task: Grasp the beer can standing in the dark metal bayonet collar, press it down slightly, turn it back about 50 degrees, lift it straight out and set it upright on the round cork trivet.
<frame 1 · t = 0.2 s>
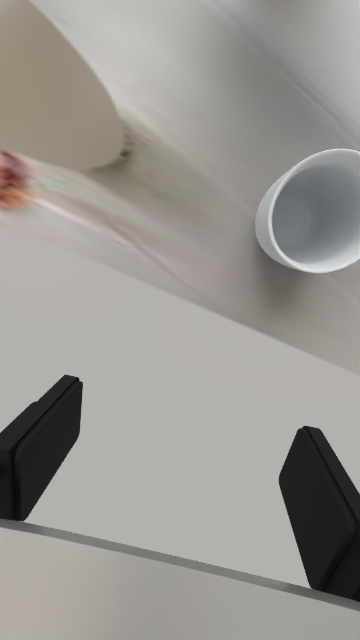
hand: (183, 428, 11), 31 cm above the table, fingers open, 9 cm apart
mug: (291, 217, 36), on the table
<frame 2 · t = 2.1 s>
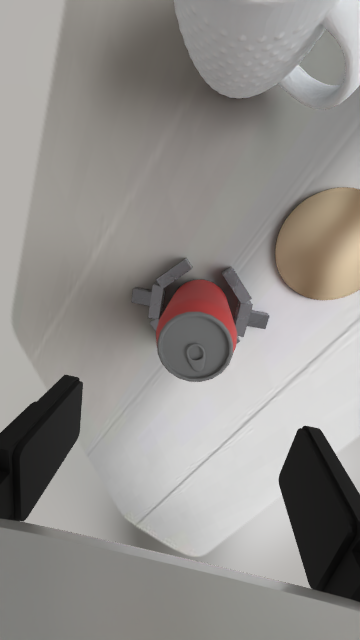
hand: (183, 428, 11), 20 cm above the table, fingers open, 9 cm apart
mug: (251, 61, 23), on the table
collar: (199, 306, 30), on the table
trivet: (329, 247, 26), on the table
beer can: (199, 306, 30), on the table
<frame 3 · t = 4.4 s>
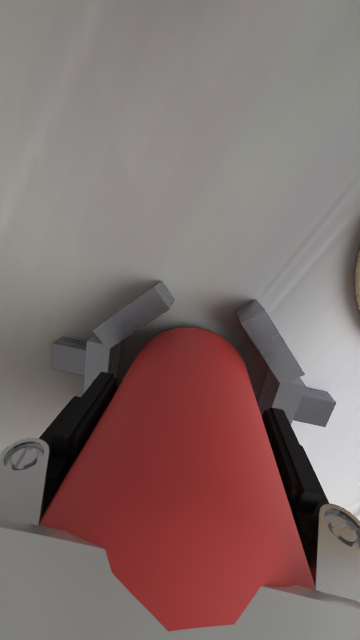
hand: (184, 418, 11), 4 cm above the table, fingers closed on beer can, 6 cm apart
collar: (189, 375, 15), on the table
beer can: (189, 374, 15), on the table, touching gripper
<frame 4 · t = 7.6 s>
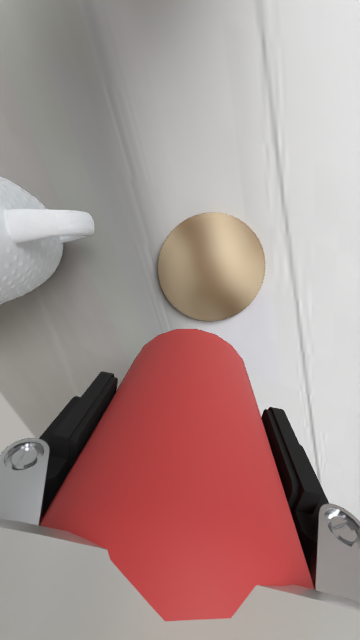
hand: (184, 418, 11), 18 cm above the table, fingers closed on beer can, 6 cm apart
mug: (44, 240, 28), on the table
trivet: (210, 269, 27), on the table
beer can: (189, 375, 15), point 14 cm above the table, touching gripper
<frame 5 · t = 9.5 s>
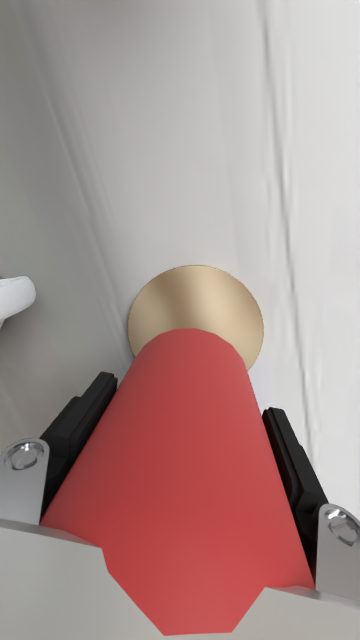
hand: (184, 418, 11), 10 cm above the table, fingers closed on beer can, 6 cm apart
trivet: (194, 332, 21), on the table
beer can: (189, 375, 15), point 7 cm above the table, touching gripper
when the fingers open (6 cm above the table, at t = 10.9 s): beer can drops 1 cm, resting on trivet.
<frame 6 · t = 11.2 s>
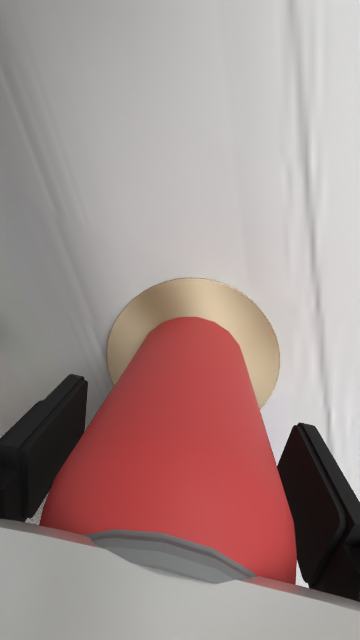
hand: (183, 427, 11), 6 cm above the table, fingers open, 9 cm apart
trivet: (191, 361, 17), on the table
beer can: (190, 361, 16), resting on trivet
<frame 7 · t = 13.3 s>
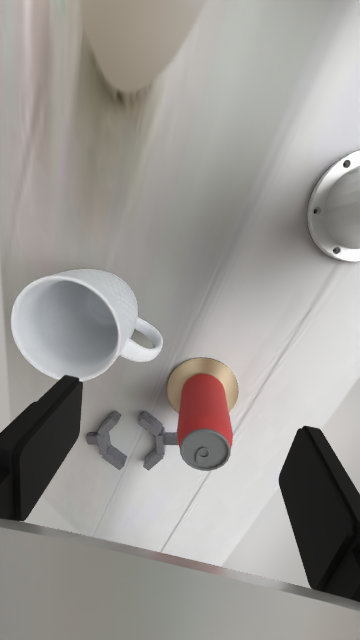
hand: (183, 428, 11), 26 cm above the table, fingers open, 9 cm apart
mug: (117, 305, 37), on the table
collar: (133, 436, 43), on the table
trivet: (202, 389, 40), on the table
beer can: (203, 390, 39), resting on trivet
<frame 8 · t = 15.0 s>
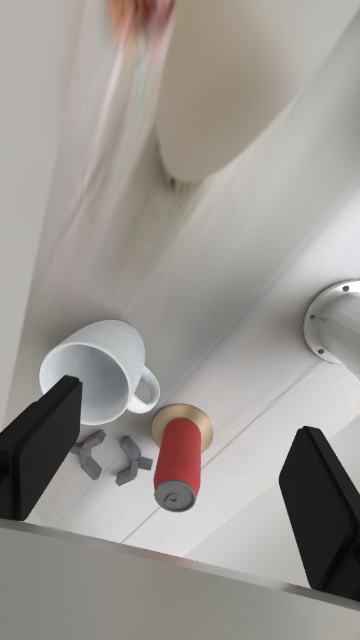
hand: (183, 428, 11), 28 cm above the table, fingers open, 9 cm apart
mug: (125, 345, 42), on the table
collar: (112, 454, 49), on the table
trivet: (182, 430, 45), on the table
beer can: (182, 431, 45), resting on trivet
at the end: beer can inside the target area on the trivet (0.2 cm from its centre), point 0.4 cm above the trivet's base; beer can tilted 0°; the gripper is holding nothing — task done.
